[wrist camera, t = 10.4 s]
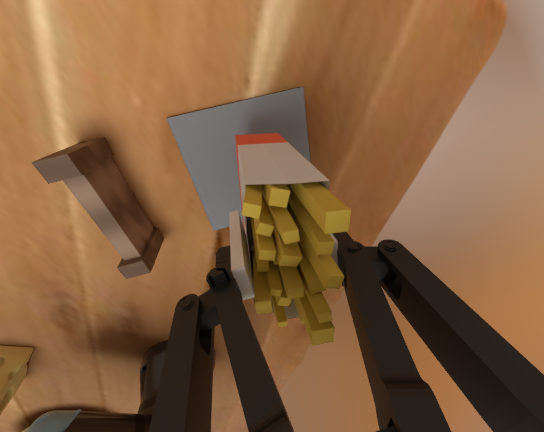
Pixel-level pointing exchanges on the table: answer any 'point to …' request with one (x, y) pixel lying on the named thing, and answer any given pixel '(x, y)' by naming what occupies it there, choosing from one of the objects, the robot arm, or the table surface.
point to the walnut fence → (106, 201)
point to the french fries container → (289, 232)
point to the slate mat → (234, 144)
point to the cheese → (12, 371)
